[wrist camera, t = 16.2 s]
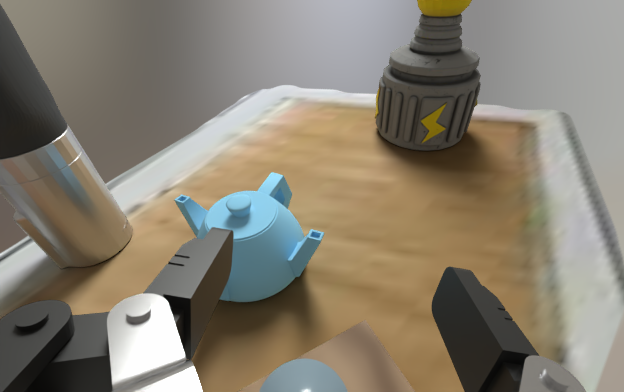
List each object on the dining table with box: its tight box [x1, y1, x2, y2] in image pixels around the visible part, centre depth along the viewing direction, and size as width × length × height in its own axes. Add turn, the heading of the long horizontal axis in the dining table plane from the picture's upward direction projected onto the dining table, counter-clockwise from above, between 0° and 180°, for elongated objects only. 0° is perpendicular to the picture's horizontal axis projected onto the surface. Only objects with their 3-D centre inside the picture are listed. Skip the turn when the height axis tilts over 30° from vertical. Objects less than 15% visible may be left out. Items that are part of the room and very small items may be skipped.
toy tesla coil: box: [375, 0, 481, 151], centre depth 55 cm, size 19×19×30 cm
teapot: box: [175, 172, 324, 302], centre depth 37 cm, size 15×15×11 cm
